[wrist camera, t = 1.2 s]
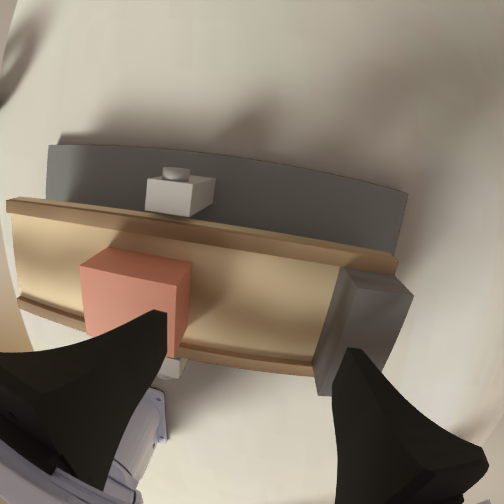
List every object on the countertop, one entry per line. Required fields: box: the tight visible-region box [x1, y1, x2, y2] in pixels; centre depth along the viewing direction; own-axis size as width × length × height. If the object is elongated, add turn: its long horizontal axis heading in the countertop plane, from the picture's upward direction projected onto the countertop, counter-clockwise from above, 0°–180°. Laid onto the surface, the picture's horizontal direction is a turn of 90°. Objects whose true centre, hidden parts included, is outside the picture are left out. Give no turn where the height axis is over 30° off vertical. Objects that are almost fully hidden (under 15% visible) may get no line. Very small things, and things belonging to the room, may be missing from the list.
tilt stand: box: [46, 145, 408, 380], centre depth 18 cm, size 15×27×6 cm, turn 81°
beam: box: [6, 197, 414, 396], centre depth 15 cm, size 8×24×4 cm, turn 81°
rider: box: [79, 247, 192, 358], centre depth 14 cm, size 4×5×3 cm
